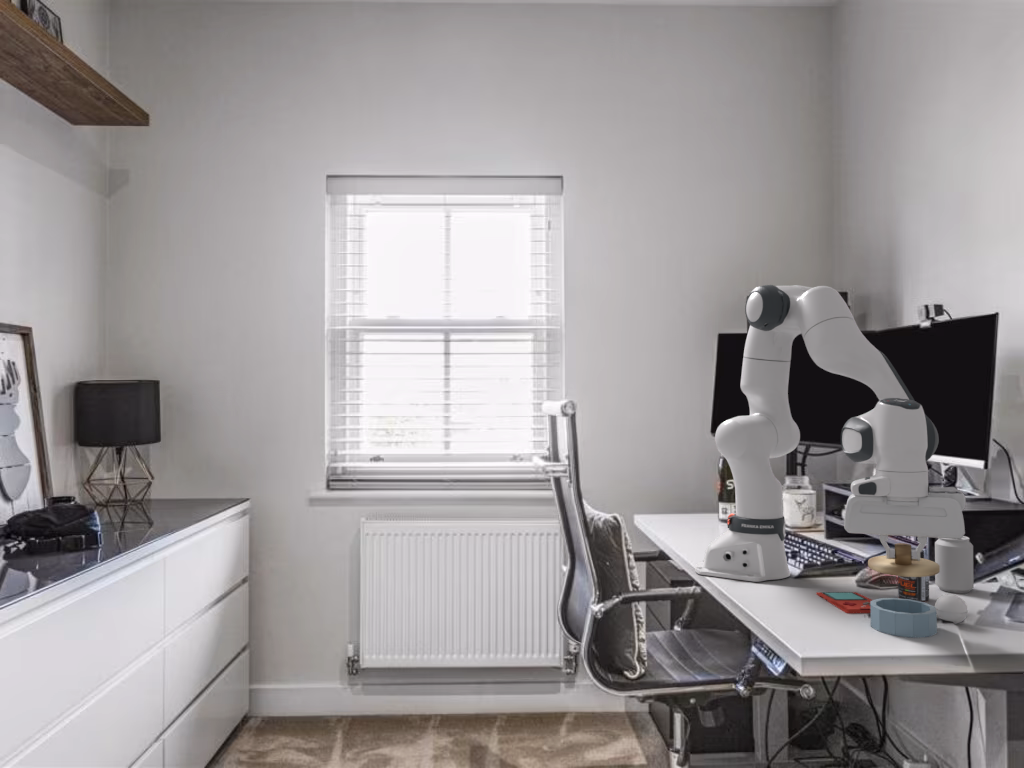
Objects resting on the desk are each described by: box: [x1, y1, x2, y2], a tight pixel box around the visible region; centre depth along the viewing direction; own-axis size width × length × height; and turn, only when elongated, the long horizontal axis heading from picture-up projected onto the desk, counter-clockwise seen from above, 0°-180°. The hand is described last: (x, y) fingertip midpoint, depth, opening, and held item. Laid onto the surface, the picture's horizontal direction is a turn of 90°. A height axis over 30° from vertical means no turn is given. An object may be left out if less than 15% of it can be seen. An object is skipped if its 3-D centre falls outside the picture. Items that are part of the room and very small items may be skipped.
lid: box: [867, 542, 940, 577], centre depth 148 cm, size 12×12×4 cm
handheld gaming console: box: [815, 591, 873, 614], centre depth 166 cm, size 9×1×15 cm
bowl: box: [870, 597, 938, 639], centre depth 149 cm, size 11×11×5 cm
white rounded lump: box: [934, 593, 969, 625], centre depth 153 cm, size 8×6×6 cm
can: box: [934, 535, 975, 594], centre depth 179 cm, size 8×8×12 cm
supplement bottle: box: [897, 547, 930, 603], centre depth 168 cm, size 6×6×11 cm
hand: (903, 559), depth 149 cm, fingers closed on lid, 3 cm apart
